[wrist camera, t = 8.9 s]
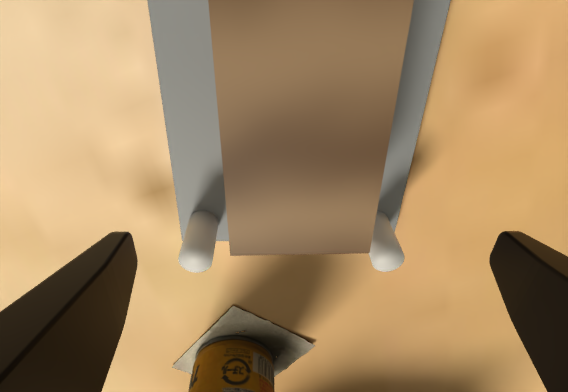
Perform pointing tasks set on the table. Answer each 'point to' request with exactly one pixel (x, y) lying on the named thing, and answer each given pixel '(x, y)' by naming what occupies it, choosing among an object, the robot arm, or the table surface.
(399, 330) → the table surface
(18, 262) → the table surface
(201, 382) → the condiment
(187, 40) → the chassis
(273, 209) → the block
